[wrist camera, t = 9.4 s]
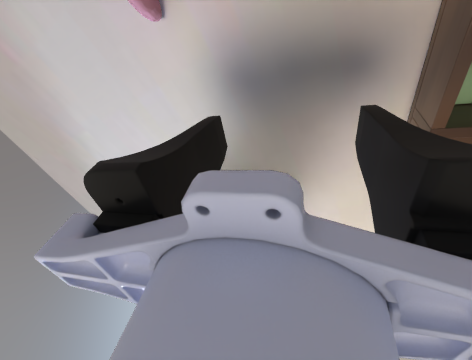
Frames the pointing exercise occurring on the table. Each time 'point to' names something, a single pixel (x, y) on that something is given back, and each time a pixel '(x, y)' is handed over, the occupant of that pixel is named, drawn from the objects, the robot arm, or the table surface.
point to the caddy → (447, 76)
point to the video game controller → (148, 8)
